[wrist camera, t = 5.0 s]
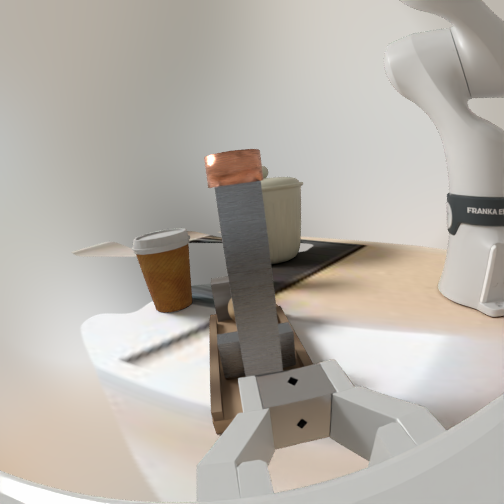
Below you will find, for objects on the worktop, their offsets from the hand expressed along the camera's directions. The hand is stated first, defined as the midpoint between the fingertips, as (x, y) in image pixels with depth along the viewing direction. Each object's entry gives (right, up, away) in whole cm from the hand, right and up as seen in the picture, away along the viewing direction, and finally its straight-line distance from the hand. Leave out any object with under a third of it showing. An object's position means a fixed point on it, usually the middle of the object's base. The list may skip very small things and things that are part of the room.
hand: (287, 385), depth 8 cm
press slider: (0, -7, +15) cm, 17 cm away
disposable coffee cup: (-14, -5, +39) cm, 42 cm away
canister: (+3, +2, +60) cm, 60 cm away
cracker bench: (-1, -7, +21) cm, 23 cm away
